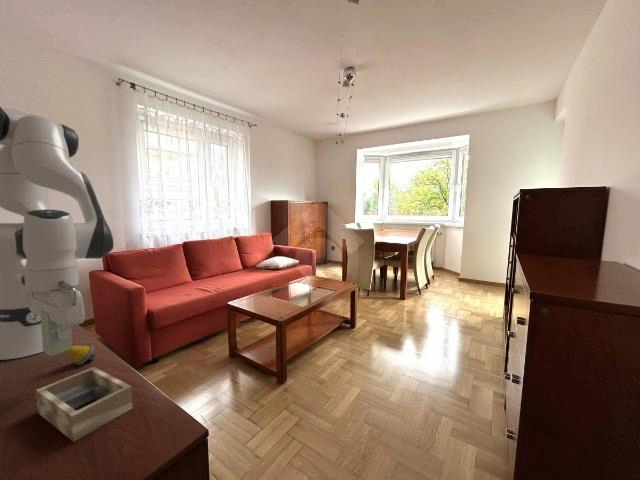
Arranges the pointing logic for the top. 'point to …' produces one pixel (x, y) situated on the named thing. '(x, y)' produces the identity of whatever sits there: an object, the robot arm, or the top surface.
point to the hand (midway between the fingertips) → (57, 335)
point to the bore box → (83, 402)
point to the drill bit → (81, 354)
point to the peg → (53, 337)
